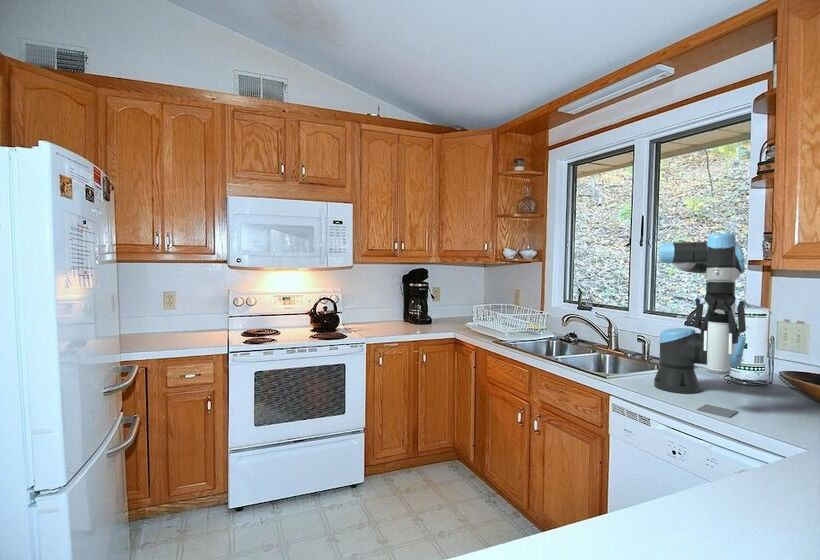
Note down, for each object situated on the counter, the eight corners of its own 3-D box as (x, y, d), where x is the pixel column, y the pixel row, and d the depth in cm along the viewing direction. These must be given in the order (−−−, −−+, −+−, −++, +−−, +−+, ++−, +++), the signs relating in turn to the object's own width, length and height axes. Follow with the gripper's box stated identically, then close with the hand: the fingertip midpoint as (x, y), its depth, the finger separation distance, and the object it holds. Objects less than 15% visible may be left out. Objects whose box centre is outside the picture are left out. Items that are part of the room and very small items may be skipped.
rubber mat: (706, 405, 148) (706, 404, 148) (737, 412, 141) (737, 411, 141) (697, 410, 143) (697, 409, 143) (729, 417, 136) (729, 416, 136)
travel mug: (701, 371, 143) (702, 311, 143) (715, 369, 146) (716, 310, 145) (720, 375, 138) (722, 313, 137) (734, 373, 140) (736, 312, 139)
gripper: (682, 280, 146) (681, 348, 147) (753, 282, 131) (751, 358, 131) (691, 280, 151) (690, 346, 151) (760, 281, 135) (758, 355, 136)
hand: (718, 351), depth 141 cm, fingers closed on travel mug, 6 cm apart
